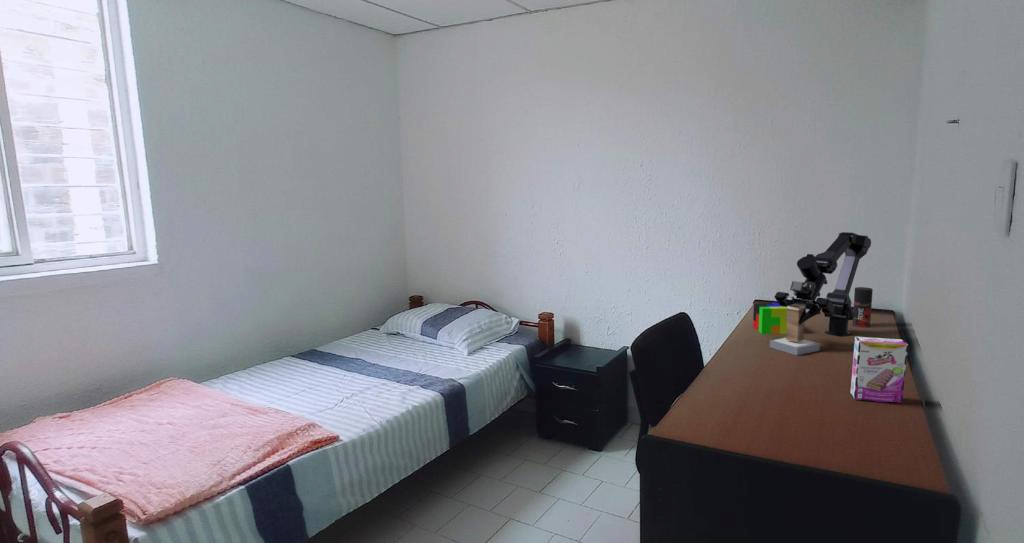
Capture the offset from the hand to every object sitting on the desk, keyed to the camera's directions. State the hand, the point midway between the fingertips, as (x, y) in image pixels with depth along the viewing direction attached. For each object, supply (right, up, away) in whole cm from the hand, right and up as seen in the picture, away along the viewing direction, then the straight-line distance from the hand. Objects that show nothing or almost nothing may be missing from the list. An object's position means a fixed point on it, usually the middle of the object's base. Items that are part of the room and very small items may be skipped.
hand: (793, 322), depth 189 cm
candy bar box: (0, -17, -43) cm, 46 cm away
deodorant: (+42, -4, +29) cm, 51 cm away
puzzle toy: (+5, -6, +26) cm, 27 cm away
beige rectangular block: (+1, -6, +2) cm, 7 cm away
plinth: (+1, -10, +2) cm, 10 cm away
